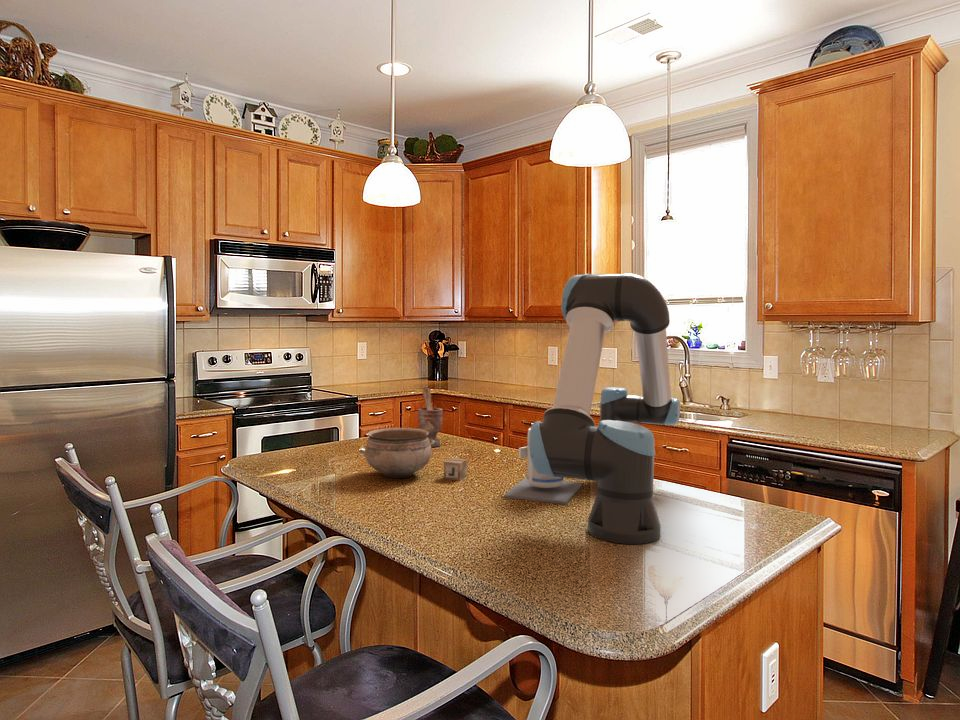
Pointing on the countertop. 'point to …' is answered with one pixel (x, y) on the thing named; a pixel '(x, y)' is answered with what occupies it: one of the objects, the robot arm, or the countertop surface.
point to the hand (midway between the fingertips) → (533, 456)
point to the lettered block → (455, 469)
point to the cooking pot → (398, 451)
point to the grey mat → (544, 492)
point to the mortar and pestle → (430, 418)
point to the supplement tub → (537, 478)
